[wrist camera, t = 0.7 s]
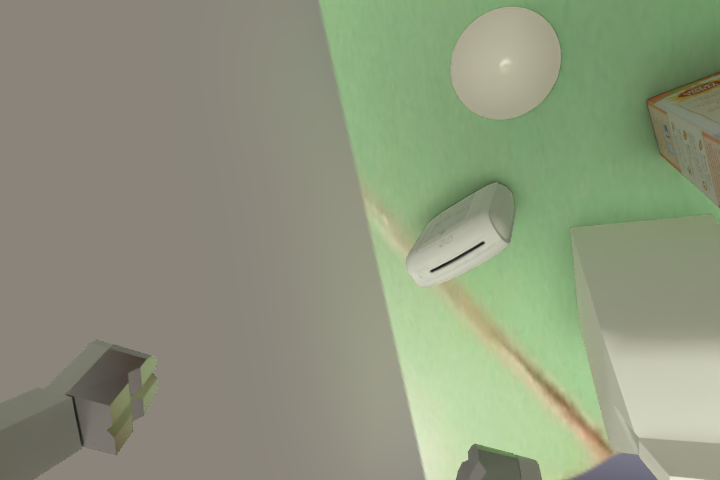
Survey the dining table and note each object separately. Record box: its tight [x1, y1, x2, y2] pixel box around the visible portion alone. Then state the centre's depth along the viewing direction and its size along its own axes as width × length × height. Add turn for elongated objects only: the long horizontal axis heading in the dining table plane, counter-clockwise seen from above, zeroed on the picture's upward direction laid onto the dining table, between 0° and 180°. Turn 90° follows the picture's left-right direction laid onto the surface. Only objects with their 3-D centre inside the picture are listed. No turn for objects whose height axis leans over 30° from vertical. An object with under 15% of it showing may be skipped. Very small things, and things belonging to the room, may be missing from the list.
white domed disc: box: [450, 6, 561, 120], centre depth 43 cm, size 10×10×1 cm
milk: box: [570, 214, 720, 480], centre depth 35 cm, size 12×12×26 cm
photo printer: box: [406, 182, 515, 287], centre depth 44 cm, size 10×4×12 cm, turn 130°
